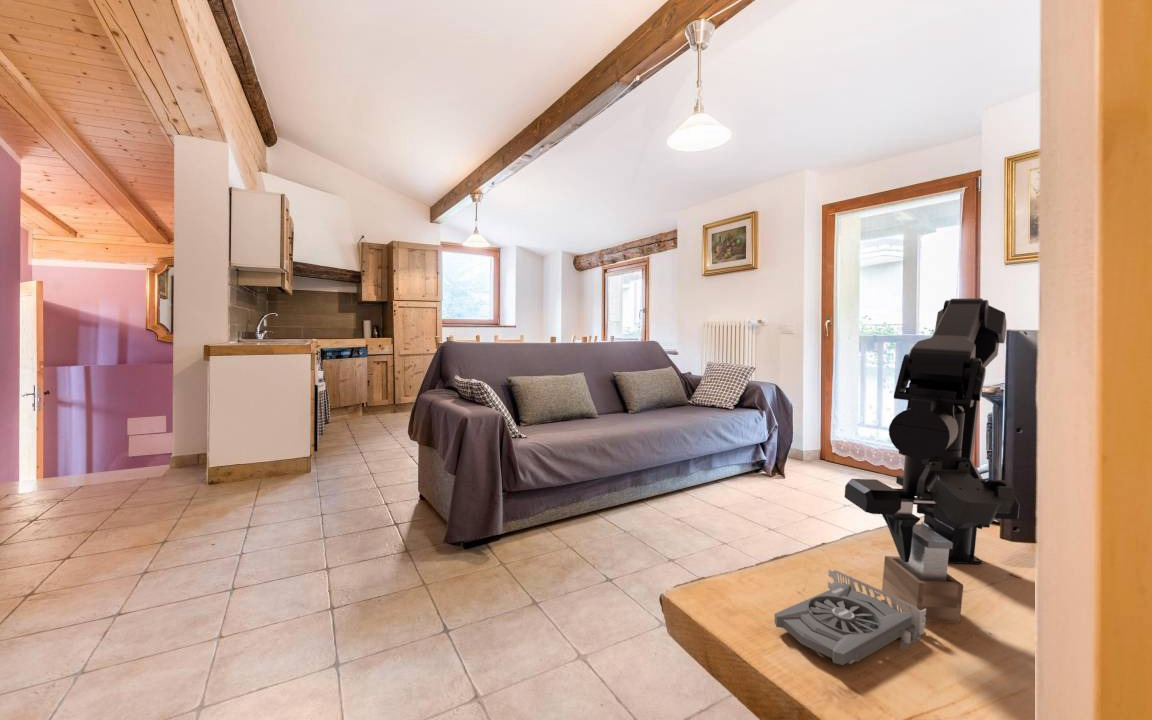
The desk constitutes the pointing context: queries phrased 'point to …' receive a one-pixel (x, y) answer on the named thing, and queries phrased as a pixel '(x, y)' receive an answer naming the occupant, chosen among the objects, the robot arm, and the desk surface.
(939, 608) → the open wooden box
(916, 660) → the desk surface
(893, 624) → the graphics card
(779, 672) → the desk surface
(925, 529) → the grey-ended wooden post
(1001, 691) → the desk surface
